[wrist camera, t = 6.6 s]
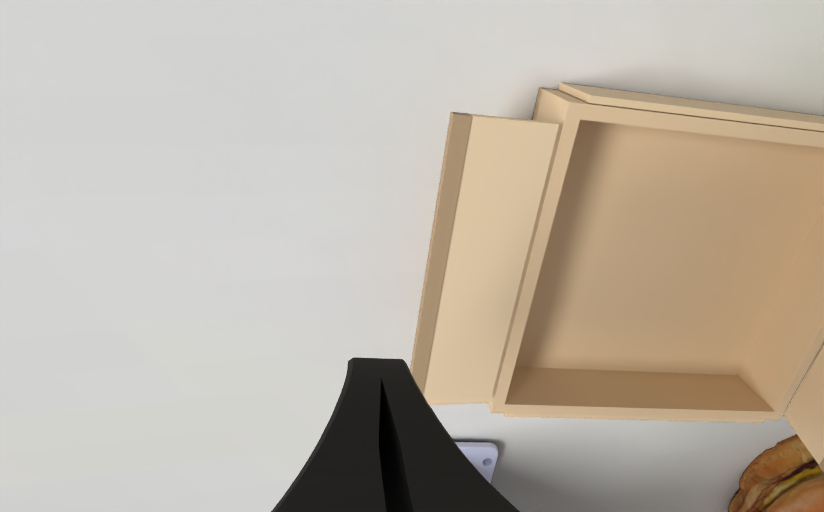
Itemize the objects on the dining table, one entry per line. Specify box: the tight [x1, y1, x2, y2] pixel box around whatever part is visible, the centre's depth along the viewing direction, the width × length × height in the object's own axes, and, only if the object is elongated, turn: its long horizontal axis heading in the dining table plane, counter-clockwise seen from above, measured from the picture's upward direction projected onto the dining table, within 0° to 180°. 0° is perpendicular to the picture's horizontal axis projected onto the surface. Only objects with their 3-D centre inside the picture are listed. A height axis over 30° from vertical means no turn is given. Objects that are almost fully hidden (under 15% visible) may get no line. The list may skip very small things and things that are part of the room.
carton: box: [488, 83, 824, 423], centre depth 22 cm, size 14×14×3 cm
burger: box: [728, 435, 824, 512], centre depth 30 cm, size 10×9×5 cm
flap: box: [410, 112, 559, 405], centre depth 19 cm, size 12×1×4 cm
